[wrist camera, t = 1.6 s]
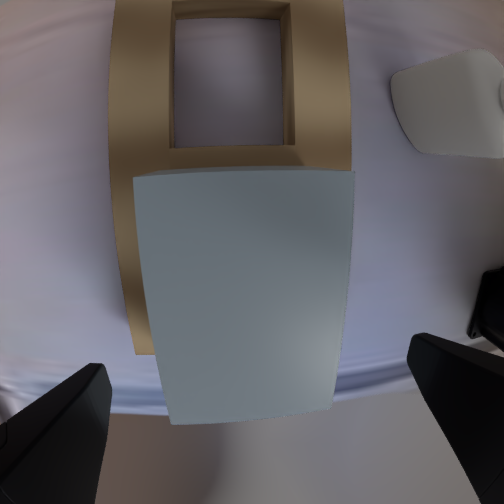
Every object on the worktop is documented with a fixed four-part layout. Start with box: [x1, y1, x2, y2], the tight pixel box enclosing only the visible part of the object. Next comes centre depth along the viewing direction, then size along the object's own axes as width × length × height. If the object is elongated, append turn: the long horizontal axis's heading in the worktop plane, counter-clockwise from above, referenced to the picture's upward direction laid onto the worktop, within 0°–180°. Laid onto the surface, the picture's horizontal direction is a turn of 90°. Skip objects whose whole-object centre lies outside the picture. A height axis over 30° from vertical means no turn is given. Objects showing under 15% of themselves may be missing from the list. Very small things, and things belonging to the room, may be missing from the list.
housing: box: [133, 166, 355, 425], centre depth 14 cm, size 10×7×6 cm
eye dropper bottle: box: [390, 49, 504, 159], centre depth 12 cm, size 4×6×12 cm
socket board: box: [108, 0, 351, 355], centre depth 16 cm, size 20×12×2 cm, turn 1°
